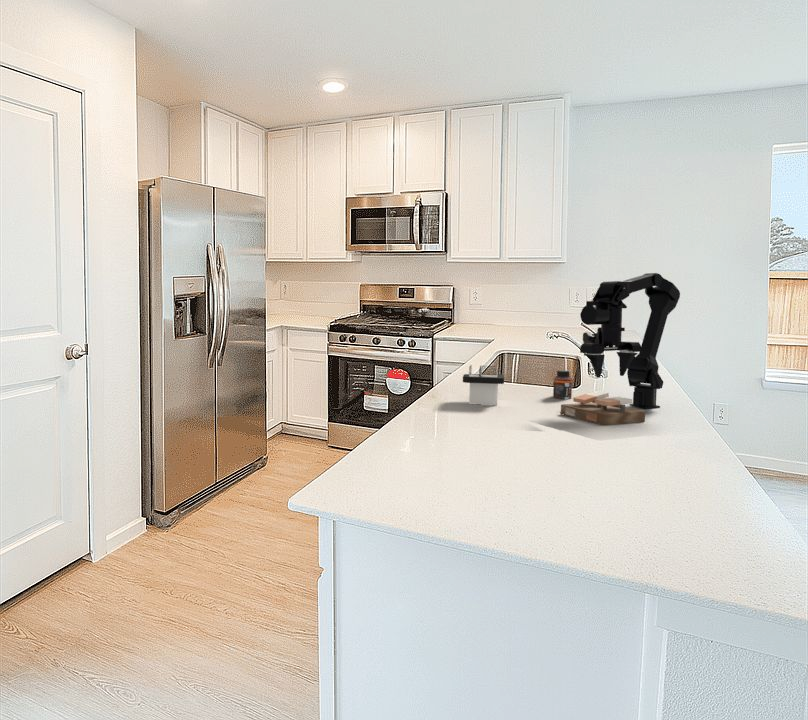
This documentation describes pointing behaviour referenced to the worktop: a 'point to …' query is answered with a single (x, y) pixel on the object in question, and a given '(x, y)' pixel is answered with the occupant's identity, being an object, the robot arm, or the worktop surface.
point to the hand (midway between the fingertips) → (610, 376)
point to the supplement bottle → (562, 385)
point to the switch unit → (603, 413)
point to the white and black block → (483, 386)
